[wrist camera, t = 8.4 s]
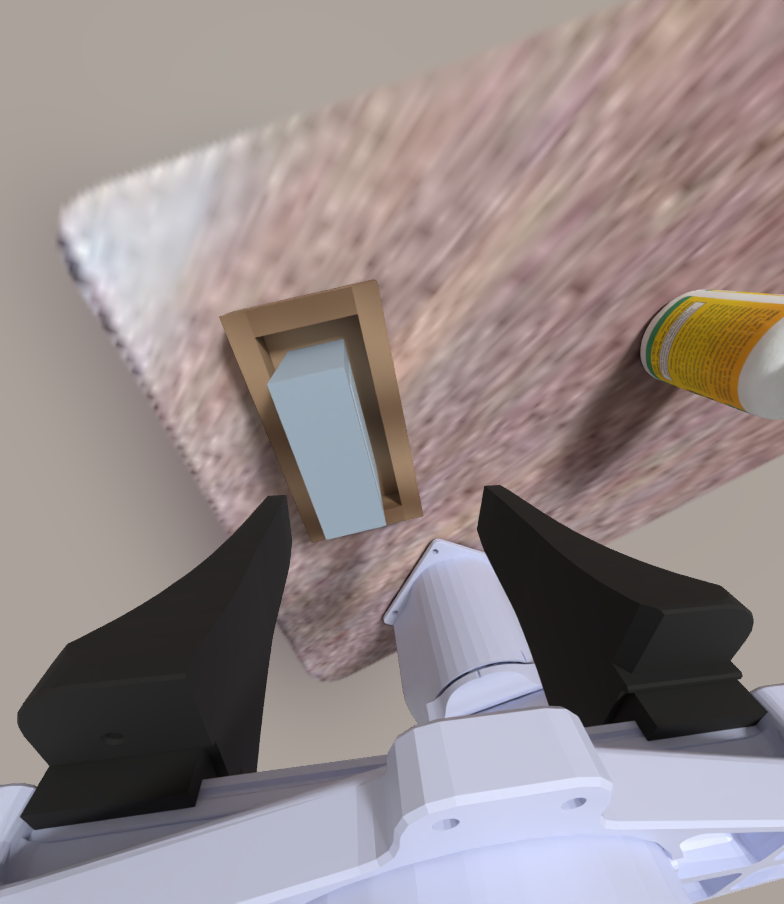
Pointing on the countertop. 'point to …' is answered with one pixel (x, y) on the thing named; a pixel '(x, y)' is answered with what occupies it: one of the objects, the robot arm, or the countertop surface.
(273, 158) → the countertop surface
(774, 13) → the countertop surface
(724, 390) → the supplement bottle
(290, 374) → the grey rectangular block
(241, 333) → the wooden tray
